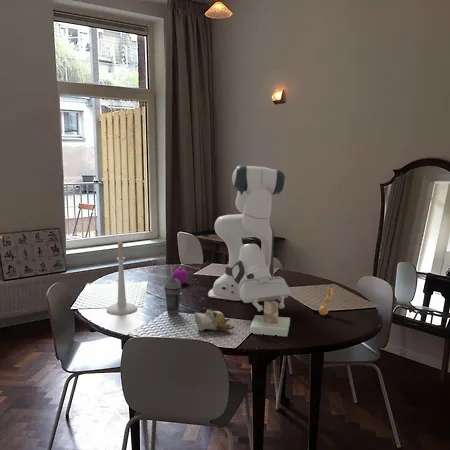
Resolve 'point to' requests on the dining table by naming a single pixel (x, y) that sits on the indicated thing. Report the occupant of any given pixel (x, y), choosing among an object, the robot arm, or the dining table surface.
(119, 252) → the candlestick
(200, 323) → the ceramic sculpture
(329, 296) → the figurine
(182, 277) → the christmas ornament
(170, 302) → the beverage cup
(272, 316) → the tan block
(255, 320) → the sage board
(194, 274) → the dining table surface
